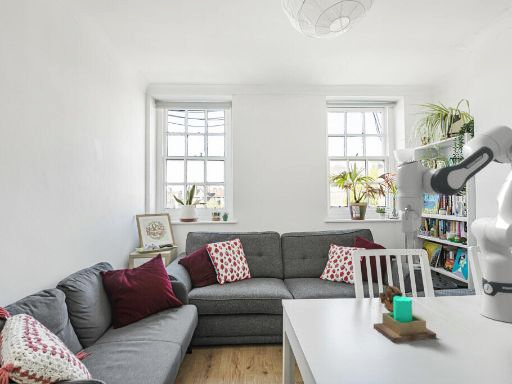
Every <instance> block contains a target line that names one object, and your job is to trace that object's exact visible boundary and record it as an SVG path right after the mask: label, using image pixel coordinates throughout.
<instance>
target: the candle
mask: <svg viewBox="0 0 512 384" xmlns="http://www.w3.org/2000/svg"><path fill="white" fill-rule="evenodd" d="M393 305H394V311H393V312H394V319H395V320H397V321H399V322H410V321H412V314H413V299H412V298H410V297H407V296H404V294H403V293H402V297H400V296H395V297H394V298H393Z"/></svg>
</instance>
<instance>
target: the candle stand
mask: <svg viewBox="0 0 512 384" xmlns="http://www.w3.org/2000/svg"><path fill="white" fill-rule="evenodd" d="M381 320H382V323H381V322H380V323H373V329H374V330H376V331H377V332H378V333H379V334H380V335H382V336H384V337H385V338H386V339H388V340H389V341H390V342H392V343H393V344H394V343H400V342H401V343H403V342H412V341H413V342H414V341H422V340H432V339H437V333H436V332H435V331H432V330H430V329H429V328H427V320H424V319H422V318H421V317H419V316H417V315H415V314H413V313H412V321H410V322H399V321H397V320H395V319H394V311H390V312H382V319H381Z"/></svg>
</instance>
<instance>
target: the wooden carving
mask: <svg viewBox="0 0 512 384" xmlns="http://www.w3.org/2000/svg"><path fill="white" fill-rule="evenodd" d="M384 289H385V292H380V293H379V299H380V304H382V305H384V307H385V308H386V310H388V311H390V312H394V305H393V298H394V297H395V296H400V297H402V294H403V292H402V291H401V290H400V289H399V288H398V287H397V286H395V285H393V286H392V285H386V287H385V288H384Z"/></svg>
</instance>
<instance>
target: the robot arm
mask: <svg viewBox="0 0 512 384" xmlns="http://www.w3.org/2000/svg"><path fill="white" fill-rule="evenodd" d="M461 154H462V156H463V159H462V160H461V161H460V162H458V163H456V164H455V165H448V166H443V167H439V168H431V167H427V166H425V165H423V164H421V162H419V161H418V160H413V161H408V162H403V163H400V164H398V166H397V168H396V171H395V184H396V185H395V186H396V189H397V195H396V199H397V202H396V203H397V210H398V211H401V231H402V233H405V235H406V239H407V244H408V245H411V246H412V245H414V242H417V241H418V240H419V239H418V234H419V228H421V226H422V217H423V215H422V211H423V210H425V203H424V202H425V201H424V195H426V196H455V195H458V194H459V193H460V192H461V191H462V190H463V188H464V187H465V186H466V184H467V182H469V181H470V179H471V178H473V177H474V176H475V175H476V174H478V173H479V172H480V171H482V170H483V169H485V168H486V167H487V166H488V165H489V164H490V163H491V162H494V163H499V164H510V166H511V167H510V171H509V172H508V174H507V176H506V178H505V179H504V181H503V183H502V185H501V188H500V190H499V191H498V194H497V196H496V198H495V202H496V204H497V207H498V209H497V213H496V216H493V215H492V216H490V215H489V216H488V215H487V216H486V215H485V216H483V217H482V216H481V217H478V218H476V219H474V220H473V221H472V223H471V224H470V232H471V234H472V235H473V236H474V238H475V240H476V241H477V244H478V248H479V250H480V254H481V258H482V273H483V277H482V279H481V284H482V292H481V303H480V305H479V311H478V312H479V314H481V315H482V316H483V317H485V318H488V319H492V320H495V321H500V322H506V323H512V251H511V249H510V248H512V128H510V127H509V126H507V125H495V126H493V127H490V128H489V129H487V130H484V131H482V132H480V133H479V134H477V135H475V136H473V137H472V138H471V139H469V140H468V141H467V142H466V143H465V144H464V145H463V146H462V149H461Z"/></svg>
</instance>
